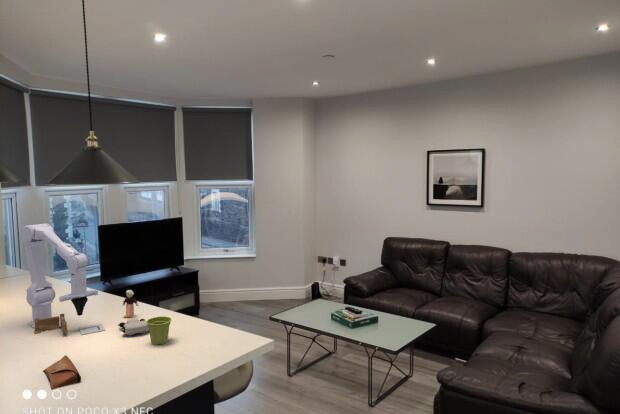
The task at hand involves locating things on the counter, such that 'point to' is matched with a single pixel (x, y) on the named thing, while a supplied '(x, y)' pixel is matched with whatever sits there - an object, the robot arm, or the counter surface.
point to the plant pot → (159, 329)
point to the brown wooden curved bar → (63, 324)
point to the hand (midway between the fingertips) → (79, 314)
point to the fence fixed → (46, 324)
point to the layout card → (91, 329)
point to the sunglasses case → (62, 373)
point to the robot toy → (134, 326)
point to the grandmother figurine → (129, 304)
